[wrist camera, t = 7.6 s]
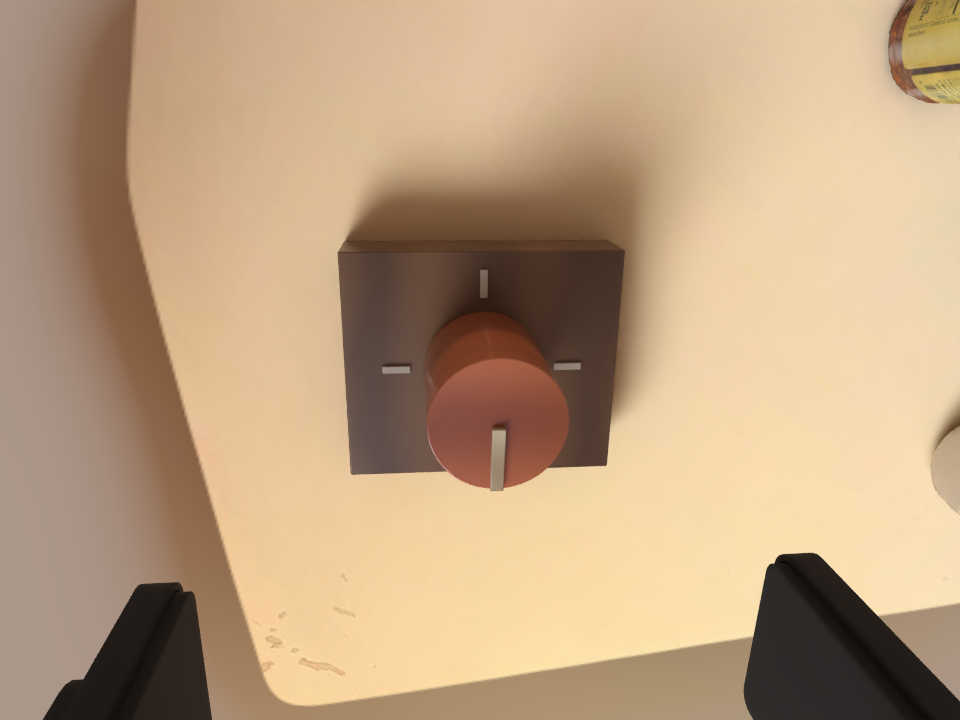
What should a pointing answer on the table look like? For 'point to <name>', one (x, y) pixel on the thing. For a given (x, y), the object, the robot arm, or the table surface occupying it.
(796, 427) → the table surface
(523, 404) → the rotary dial knob
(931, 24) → the sauce bottle
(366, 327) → the dial base plate
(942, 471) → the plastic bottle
